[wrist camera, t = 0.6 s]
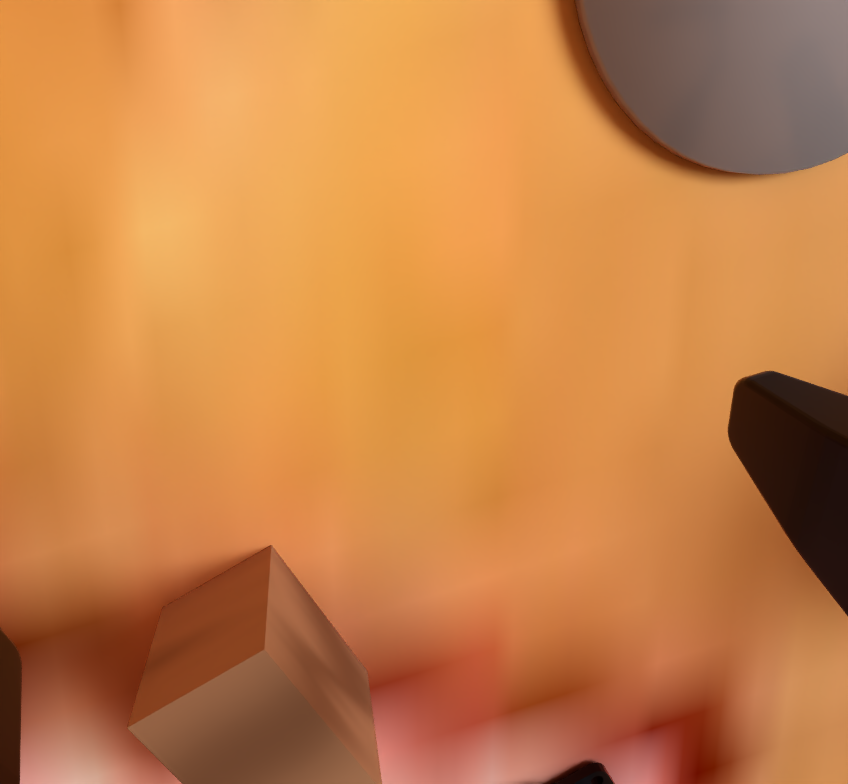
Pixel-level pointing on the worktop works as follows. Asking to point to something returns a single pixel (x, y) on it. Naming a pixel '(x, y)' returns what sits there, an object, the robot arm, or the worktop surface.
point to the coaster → (728, 77)
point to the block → (255, 686)
